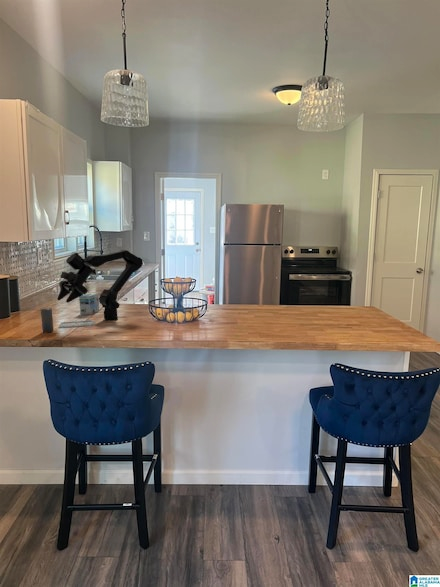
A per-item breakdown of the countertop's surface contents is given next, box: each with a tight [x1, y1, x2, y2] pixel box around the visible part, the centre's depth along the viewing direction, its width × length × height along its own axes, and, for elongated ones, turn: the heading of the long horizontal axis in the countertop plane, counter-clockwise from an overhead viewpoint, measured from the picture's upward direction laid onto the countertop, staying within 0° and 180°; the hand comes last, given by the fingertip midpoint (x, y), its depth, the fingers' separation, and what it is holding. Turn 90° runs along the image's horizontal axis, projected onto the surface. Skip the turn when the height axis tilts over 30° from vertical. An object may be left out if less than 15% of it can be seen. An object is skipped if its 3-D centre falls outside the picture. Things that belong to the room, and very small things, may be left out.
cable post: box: [40, 307, 54, 334], centre depth 196 cm, size 5×5×11 cm
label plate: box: [58, 319, 95, 329], centre depth 210 cm, size 16×10×1 cm, turn 104°
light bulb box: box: [78, 292, 100, 315], centre depth 238 cm, size 11×7×11 cm, turn 168°
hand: (62, 301), depth 200 cm, fingers open, 9 cm apart
